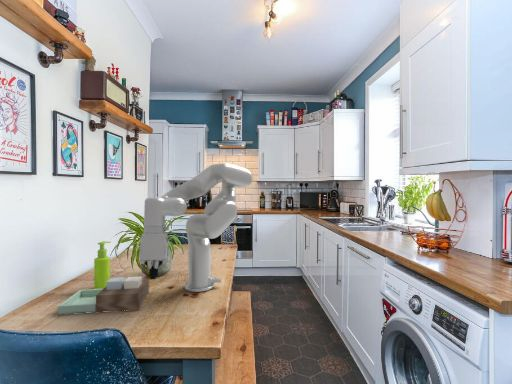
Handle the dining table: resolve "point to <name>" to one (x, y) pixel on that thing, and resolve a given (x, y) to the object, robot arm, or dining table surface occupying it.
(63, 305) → the box
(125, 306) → the brown wooden block
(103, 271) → the soap dispenser
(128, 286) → the cream square block
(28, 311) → the dining table surface
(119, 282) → the pale blue square block
